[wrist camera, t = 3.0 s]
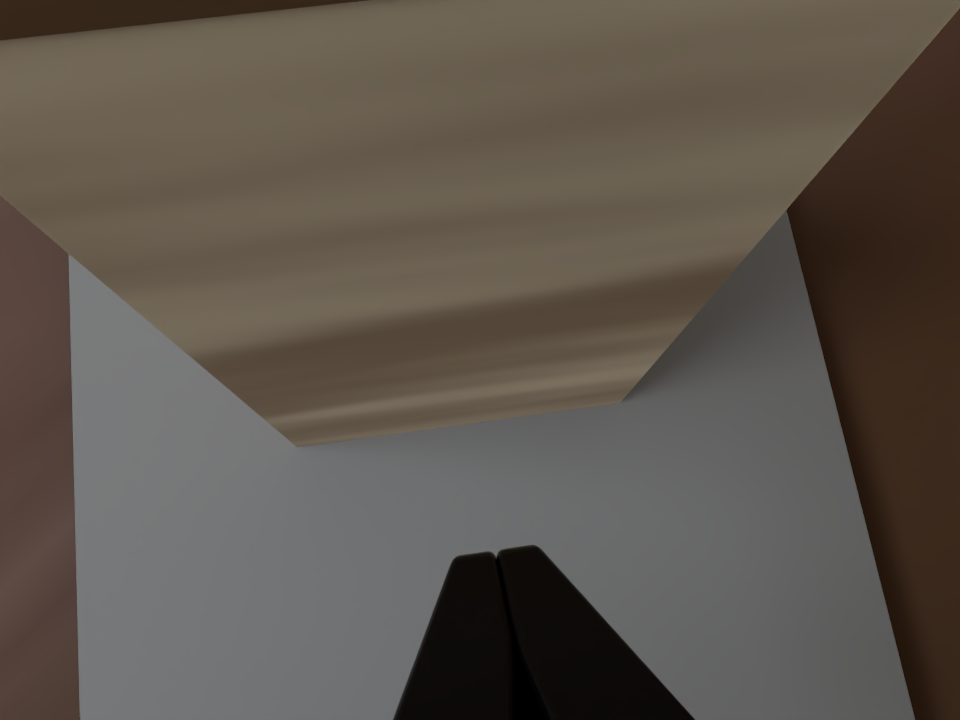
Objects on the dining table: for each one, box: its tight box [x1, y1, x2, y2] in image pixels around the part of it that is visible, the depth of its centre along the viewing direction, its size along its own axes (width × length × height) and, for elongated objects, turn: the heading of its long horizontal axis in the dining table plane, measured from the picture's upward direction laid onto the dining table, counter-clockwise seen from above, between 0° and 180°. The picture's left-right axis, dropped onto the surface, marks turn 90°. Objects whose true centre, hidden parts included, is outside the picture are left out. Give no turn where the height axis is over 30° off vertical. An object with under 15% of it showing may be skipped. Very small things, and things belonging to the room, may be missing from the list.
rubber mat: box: [69, 210, 915, 720], centre depth 17 cm, size 26×14×1 cm, turn 8°
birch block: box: [0, 0, 960, 447], centre depth 10 cm, size 4×6×14 cm
